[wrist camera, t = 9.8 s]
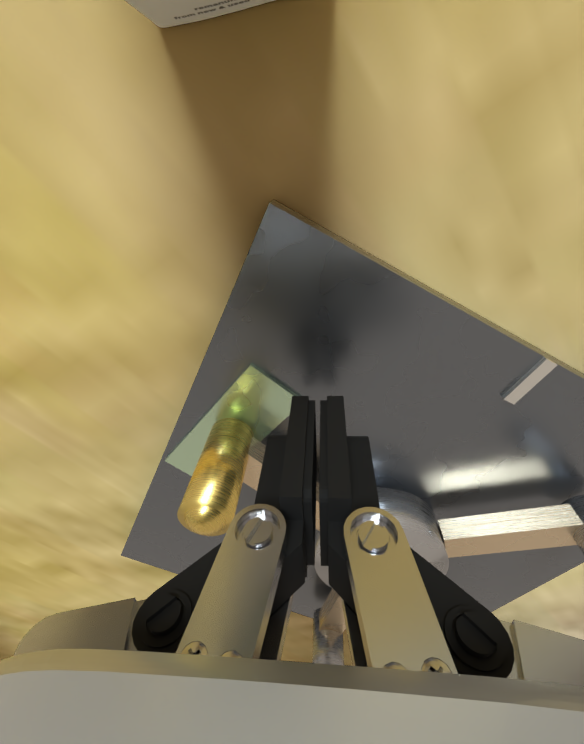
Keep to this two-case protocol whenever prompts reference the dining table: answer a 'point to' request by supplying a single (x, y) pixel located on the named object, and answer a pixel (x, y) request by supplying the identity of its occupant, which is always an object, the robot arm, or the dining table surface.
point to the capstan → (434, 543)
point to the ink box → (188, 9)
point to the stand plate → (379, 402)
